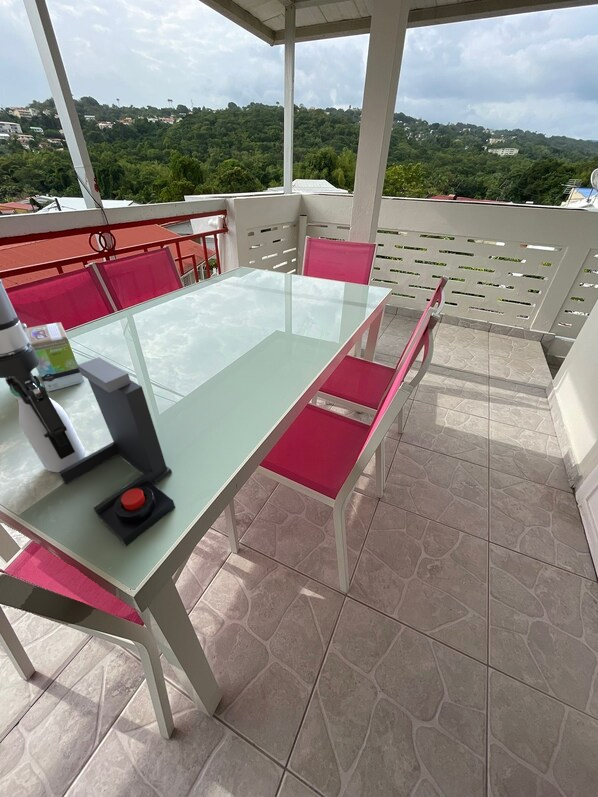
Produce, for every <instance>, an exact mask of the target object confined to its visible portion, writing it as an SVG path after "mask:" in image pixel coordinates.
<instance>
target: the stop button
mask: <svg viewBox="0 0 598 797" xmlns="http://www.w3.org/2000/svg"><path fill="white" fill-rule="evenodd" d="M121 502H122V504H123V506H124V508H125V509H126V510H128V511H133V510H136V509H139V508H140V507H141V506H142V505H143V504H144V502H145V497H144V494H143V492H142V490H140V489H137V488H135V489H131V490H128V491H127V492H125V493H124V494H123V496H122V498H121Z"/></svg>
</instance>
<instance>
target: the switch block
mask: <svg viewBox="0 0 598 797" xmlns="http://www.w3.org/2000/svg"><path fill="white" fill-rule="evenodd" d="M136 488H137V489H140V490H142V492H143V494H144V497H145V502H144V504H143V505H142V506H141V507H140V508H139V509H136V510H133V511H128V510H126V509H125V508H124V506H123V504H122V502H121V498H122V496H123V494H124V493H125V492H124V493H123V494H121V495H120V496H119V497H118V499H117V500H116V502H115V504H114V505H112V506H111V507H109V508H108V509H106V510H105V511H103V512H102V513H101V514H99V516H100V518H101V520H100V521H101V522H102V523H103V524H104V525H105V527H107V528H108V530H109V531H111V532H112V534H114V536H115V537H116V538H117V539H118V540H119V541H120V542H121V543H122V544H123V545H124V546H125V547H128V546H129V545H130V544H132V543H133V542H134V541H135V540H137V539H138V538H139V537H140V536H142V535H143V534H144V533H146V532H147V531H148V530H149V529H151V528H152V527H153V526H154V525H156V524H157V523H159V521H160V520H162V519H163V518H165V516H167V515H168V514H169V513H171V512H172V511H174V509H176V505H175V502H174V499H172V498H171V497H170V496H168V495H167V494H166V493H164V492H163V491H162V490H161V489H160V488H159V487H157V486H156V484H152V483H151V482H150V481H147V482H146V483H144V484H143V485H141V486H140V487H136ZM132 489H135V488H132ZM129 490H131V489H129ZM127 491H128V490H127ZM127 491H126V492H127Z"/></svg>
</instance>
